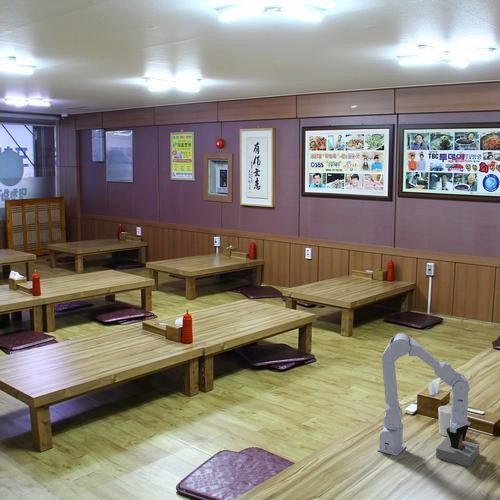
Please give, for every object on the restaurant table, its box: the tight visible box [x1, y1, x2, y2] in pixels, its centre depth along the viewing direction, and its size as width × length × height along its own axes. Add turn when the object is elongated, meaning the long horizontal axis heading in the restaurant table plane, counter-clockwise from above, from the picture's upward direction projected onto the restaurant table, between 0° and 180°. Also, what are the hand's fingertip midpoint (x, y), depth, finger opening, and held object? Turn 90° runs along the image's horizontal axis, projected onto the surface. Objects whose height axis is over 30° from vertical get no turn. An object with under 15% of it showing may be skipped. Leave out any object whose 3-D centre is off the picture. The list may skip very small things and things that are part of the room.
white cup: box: [437, 405, 451, 437], centre depth 241 cm, size 8×8×10 cm
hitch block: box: [435, 436, 480, 467], centre depth 223 cm, size 12×12×4 cm
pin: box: [458, 435, 463, 450], centre depth 223 cm, size 3×3×8 cm
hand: (458, 444), depth 223 cm, fingers open, 7 cm apart
